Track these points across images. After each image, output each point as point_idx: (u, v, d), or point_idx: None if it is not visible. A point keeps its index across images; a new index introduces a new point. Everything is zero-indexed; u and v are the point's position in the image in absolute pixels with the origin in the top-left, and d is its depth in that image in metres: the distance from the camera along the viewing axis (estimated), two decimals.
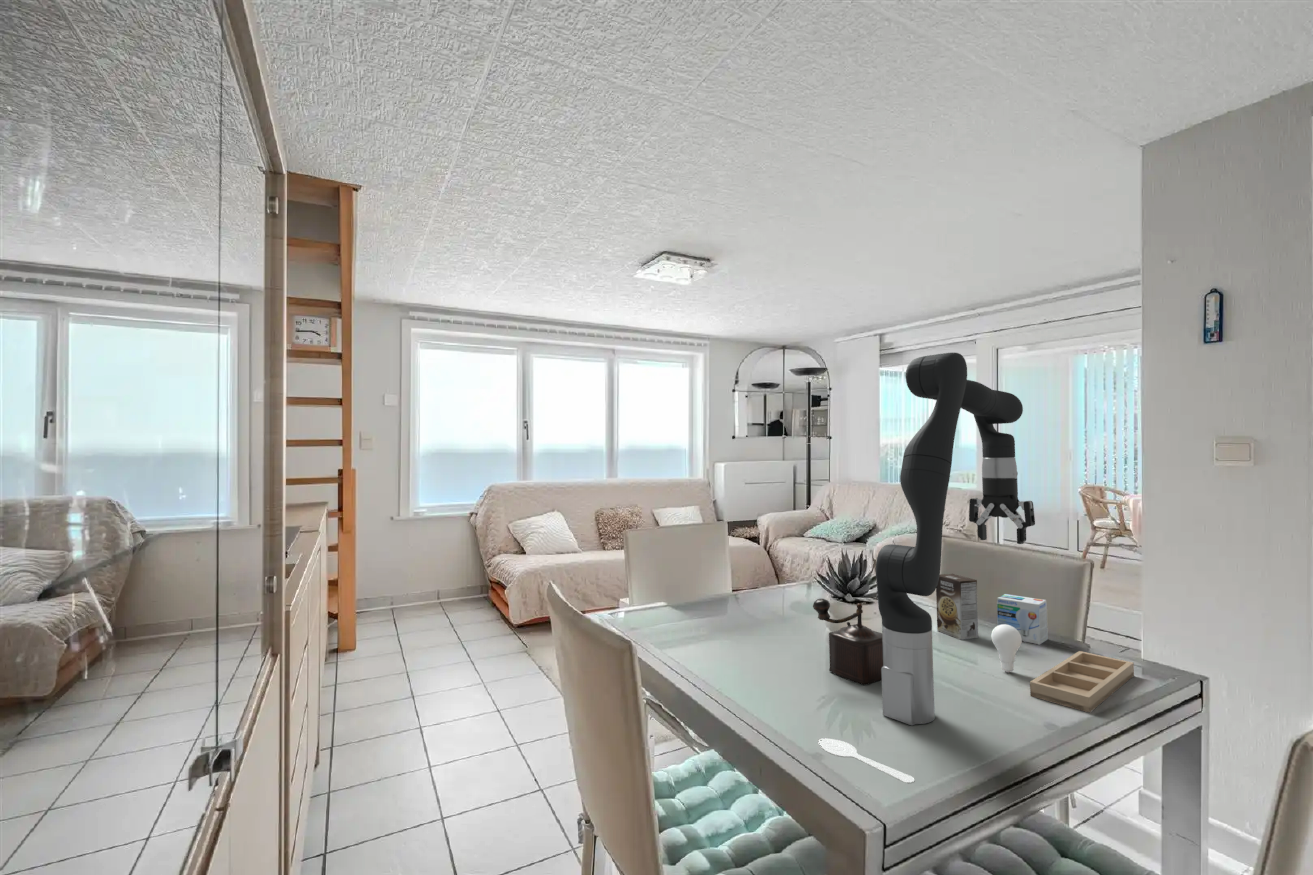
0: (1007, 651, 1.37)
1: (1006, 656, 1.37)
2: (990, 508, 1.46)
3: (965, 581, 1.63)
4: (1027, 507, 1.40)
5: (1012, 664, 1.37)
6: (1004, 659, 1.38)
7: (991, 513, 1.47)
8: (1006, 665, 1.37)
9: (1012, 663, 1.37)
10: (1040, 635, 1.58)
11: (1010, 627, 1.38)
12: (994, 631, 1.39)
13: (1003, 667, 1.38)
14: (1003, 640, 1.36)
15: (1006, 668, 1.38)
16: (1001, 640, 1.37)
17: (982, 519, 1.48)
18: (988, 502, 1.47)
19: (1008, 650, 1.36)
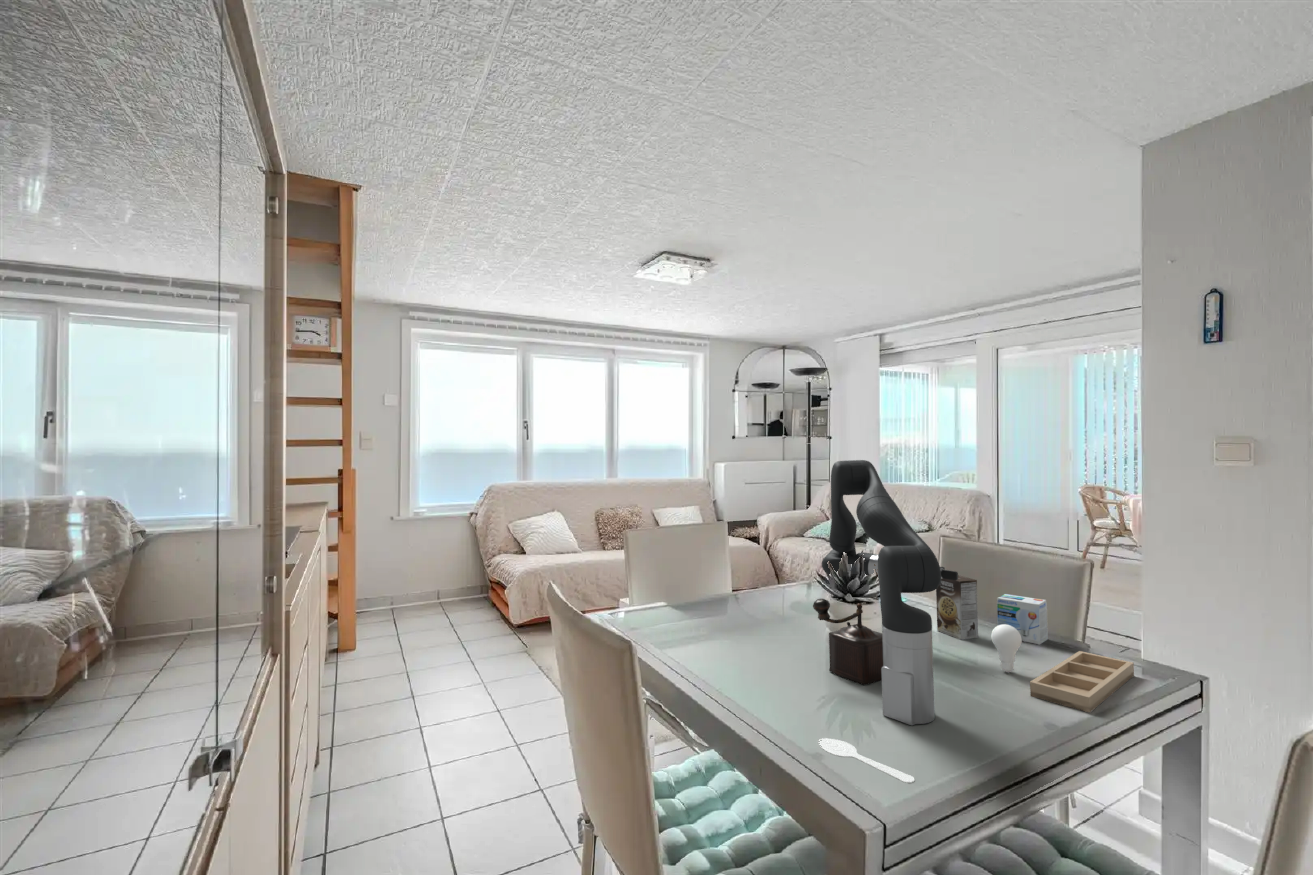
0: (1007, 651, 1.37)
1: (1006, 656, 1.37)
2: None
3: (965, 581, 1.63)
4: None
5: (1012, 664, 1.37)
6: (1004, 659, 1.38)
7: None
8: (1006, 665, 1.37)
9: (1012, 663, 1.37)
10: (1040, 635, 1.58)
11: (1010, 627, 1.38)
12: (994, 631, 1.39)
13: (1003, 667, 1.38)
14: (1003, 640, 1.36)
15: (1006, 668, 1.38)
16: (1001, 640, 1.37)
17: None
18: None
19: (1008, 650, 1.36)
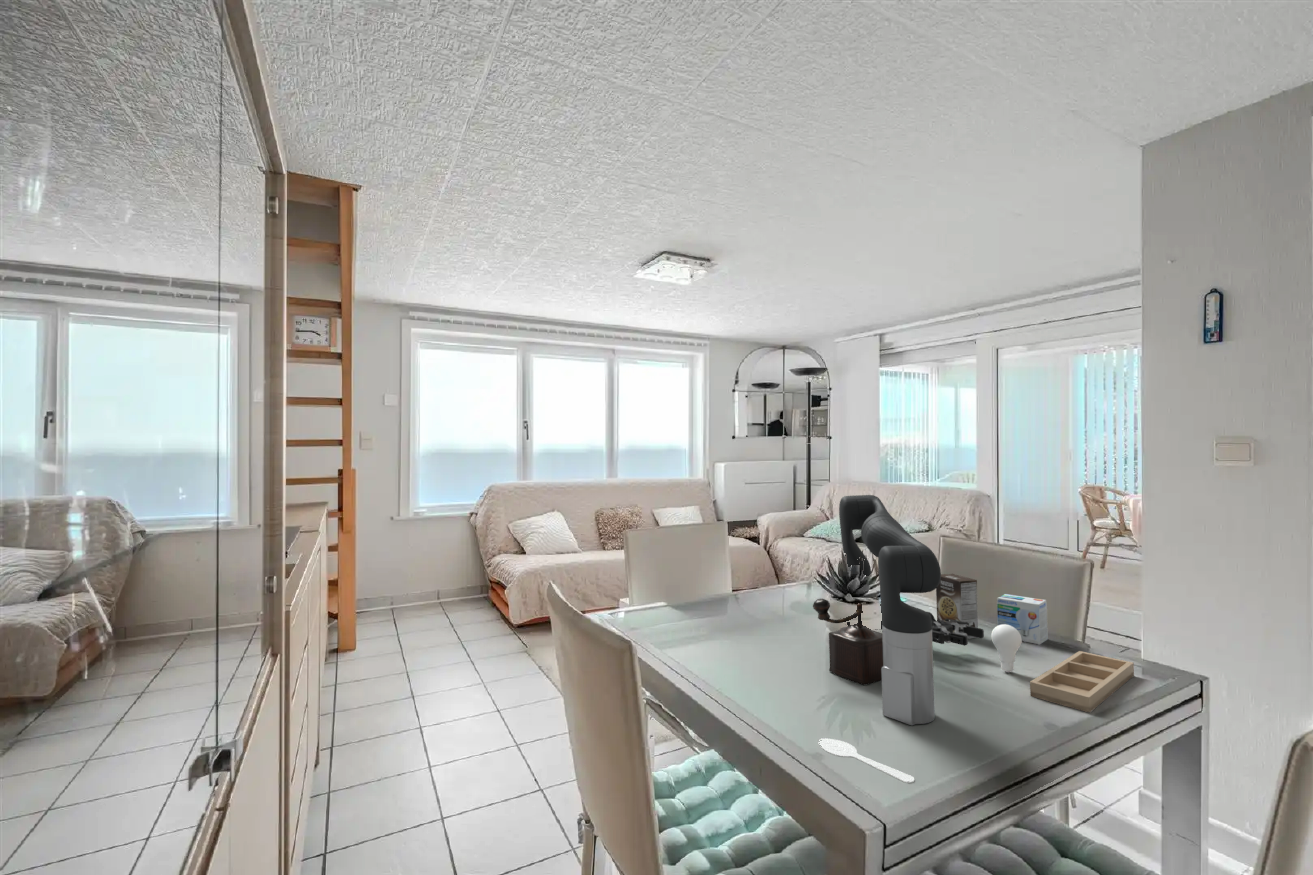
0: (1007, 651, 1.37)
1: (1006, 656, 1.37)
2: (938, 623, 1.50)
3: (965, 581, 1.63)
4: (951, 619, 1.55)
5: (1012, 664, 1.37)
6: (1004, 659, 1.38)
7: None
8: (1006, 665, 1.37)
9: (1012, 663, 1.37)
10: (1040, 635, 1.58)
11: (1010, 627, 1.38)
12: (994, 631, 1.39)
13: (1003, 667, 1.38)
14: (1003, 640, 1.36)
15: (1006, 668, 1.38)
16: (1001, 640, 1.37)
17: (945, 630, 1.46)
18: (931, 626, 1.50)
19: (1008, 650, 1.36)
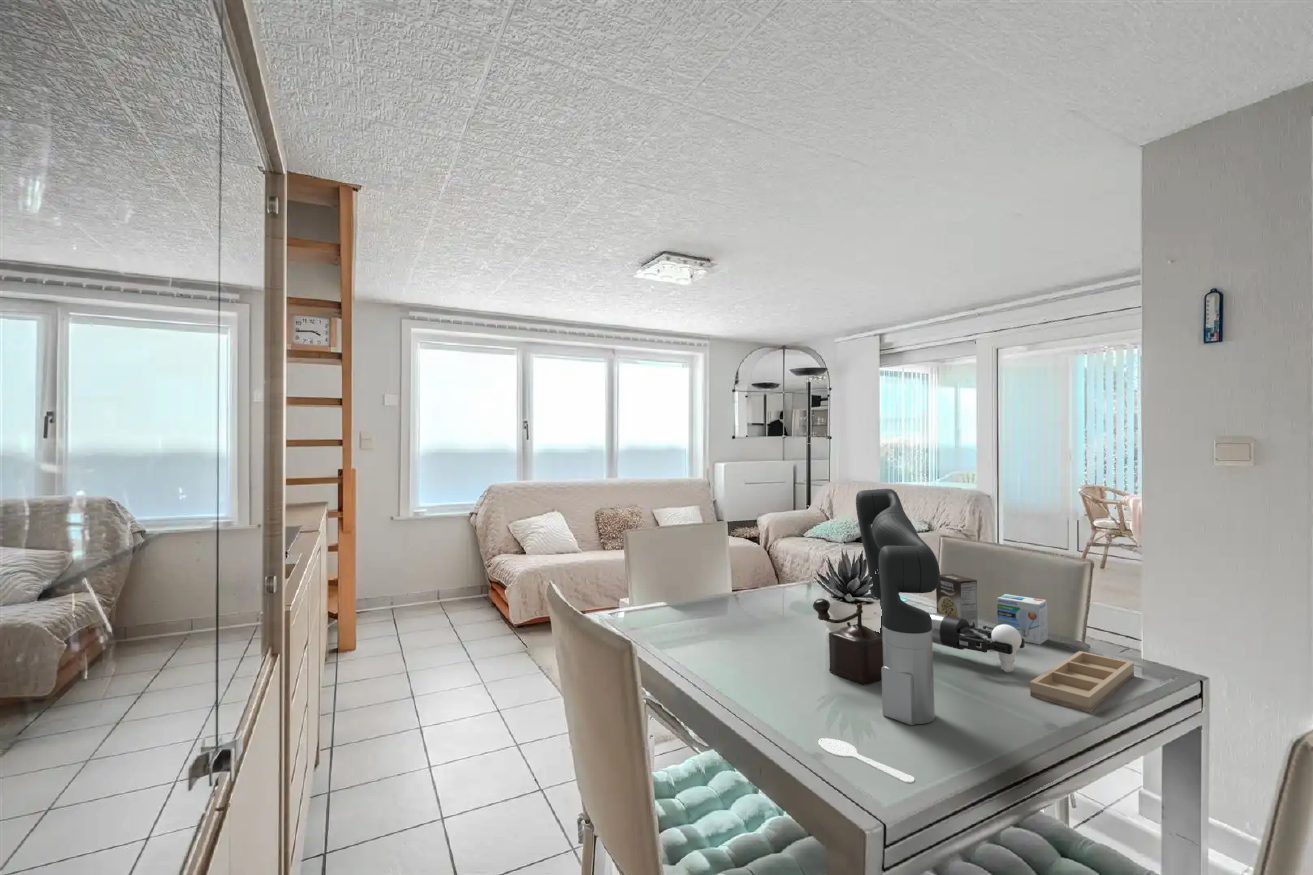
0: None
1: (1006, 656, 1.37)
2: (975, 630, 1.43)
3: (965, 581, 1.63)
4: (989, 627, 1.48)
5: (1012, 664, 1.37)
6: (1004, 659, 1.38)
7: None
8: (1006, 665, 1.37)
9: (1012, 663, 1.37)
10: (1040, 635, 1.58)
11: (1010, 627, 1.38)
12: (994, 631, 1.39)
13: (1003, 667, 1.38)
14: (1003, 640, 1.36)
15: (1006, 668, 1.38)
16: (1001, 640, 1.37)
17: (987, 638, 1.39)
18: (967, 633, 1.43)
19: None
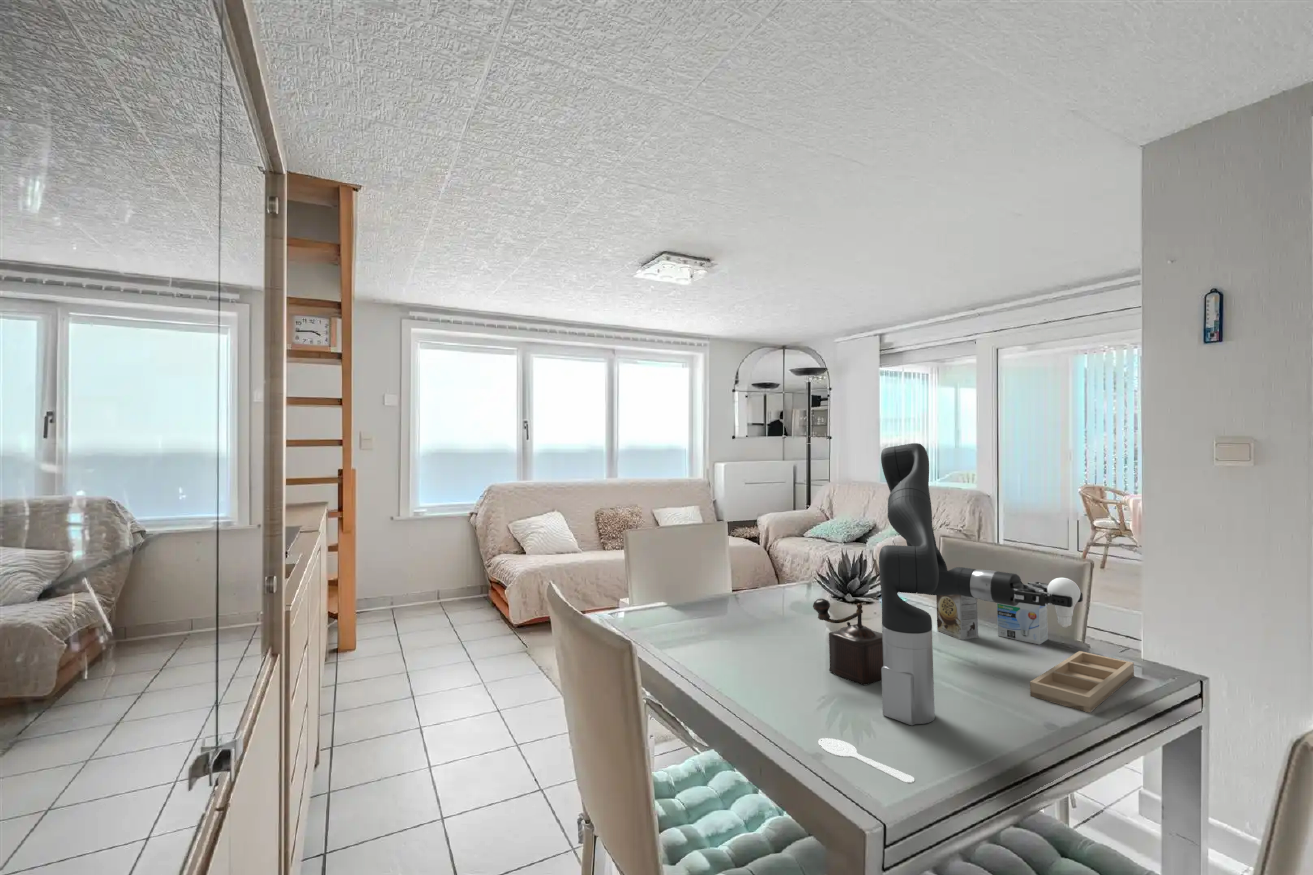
0: None
1: (1064, 610, 1.31)
2: (1029, 585, 1.37)
3: None
4: (1042, 583, 1.41)
5: (1070, 618, 1.31)
6: (1062, 613, 1.31)
7: None
8: (1064, 619, 1.31)
9: (1070, 617, 1.31)
10: (1040, 635, 1.58)
11: (1068, 580, 1.31)
12: (1051, 584, 1.33)
13: (1060, 622, 1.32)
14: (1061, 593, 1.30)
15: (1064, 622, 1.31)
16: (1060, 593, 1.30)
17: (1043, 591, 1.33)
18: (1020, 588, 1.37)
19: None
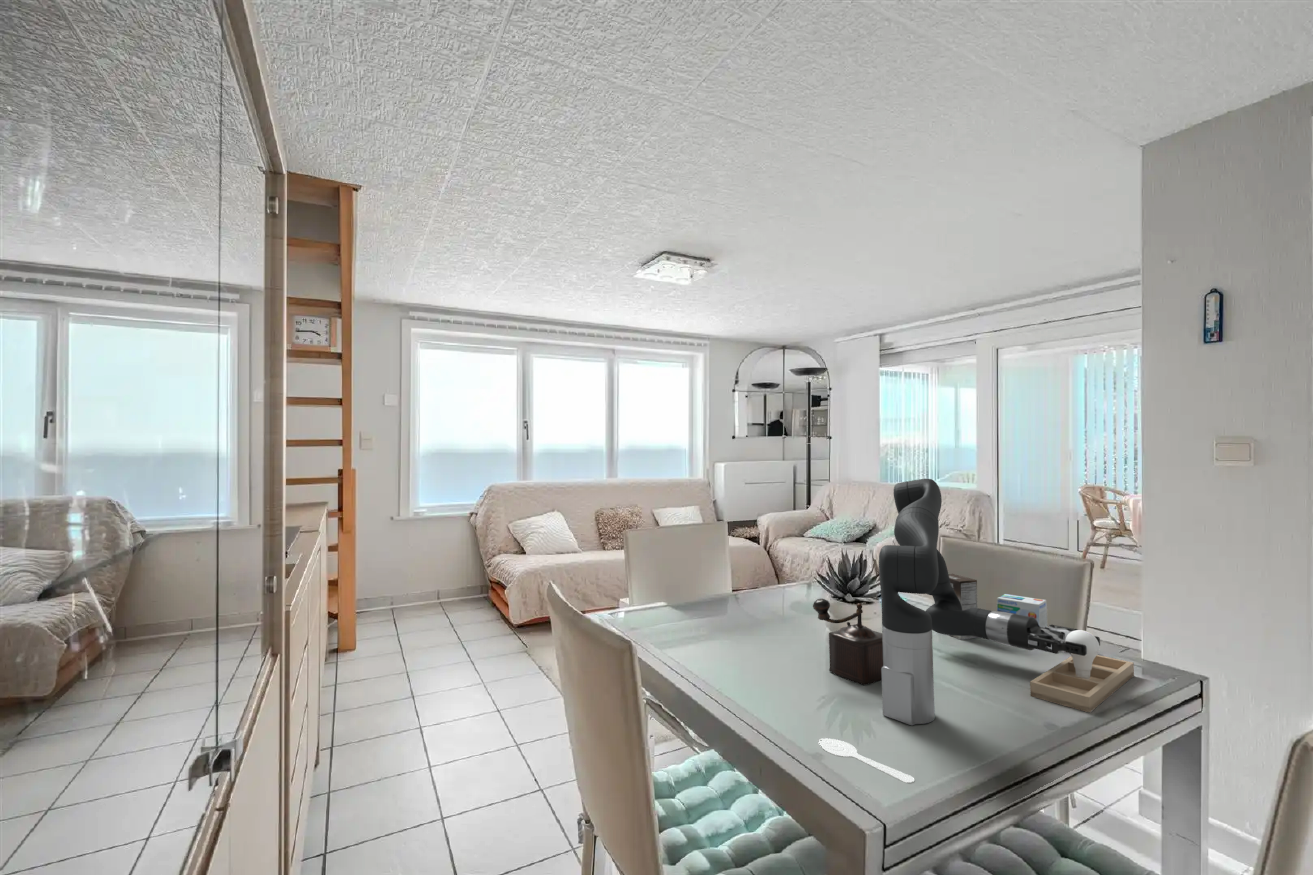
0: (1084, 659, 1.28)
1: (1082, 664, 1.29)
2: (1046, 630, 1.34)
3: (965, 581, 1.63)
4: None
5: (1089, 673, 1.29)
6: (1080, 667, 1.29)
7: None
8: (1083, 673, 1.29)
9: (1089, 671, 1.29)
10: None
11: (1087, 633, 1.29)
12: (1069, 637, 1.30)
13: (1079, 675, 1.30)
14: None
15: (1082, 677, 1.29)
16: None
17: (1058, 638, 1.30)
18: (1038, 633, 1.35)
19: (1085, 658, 1.28)
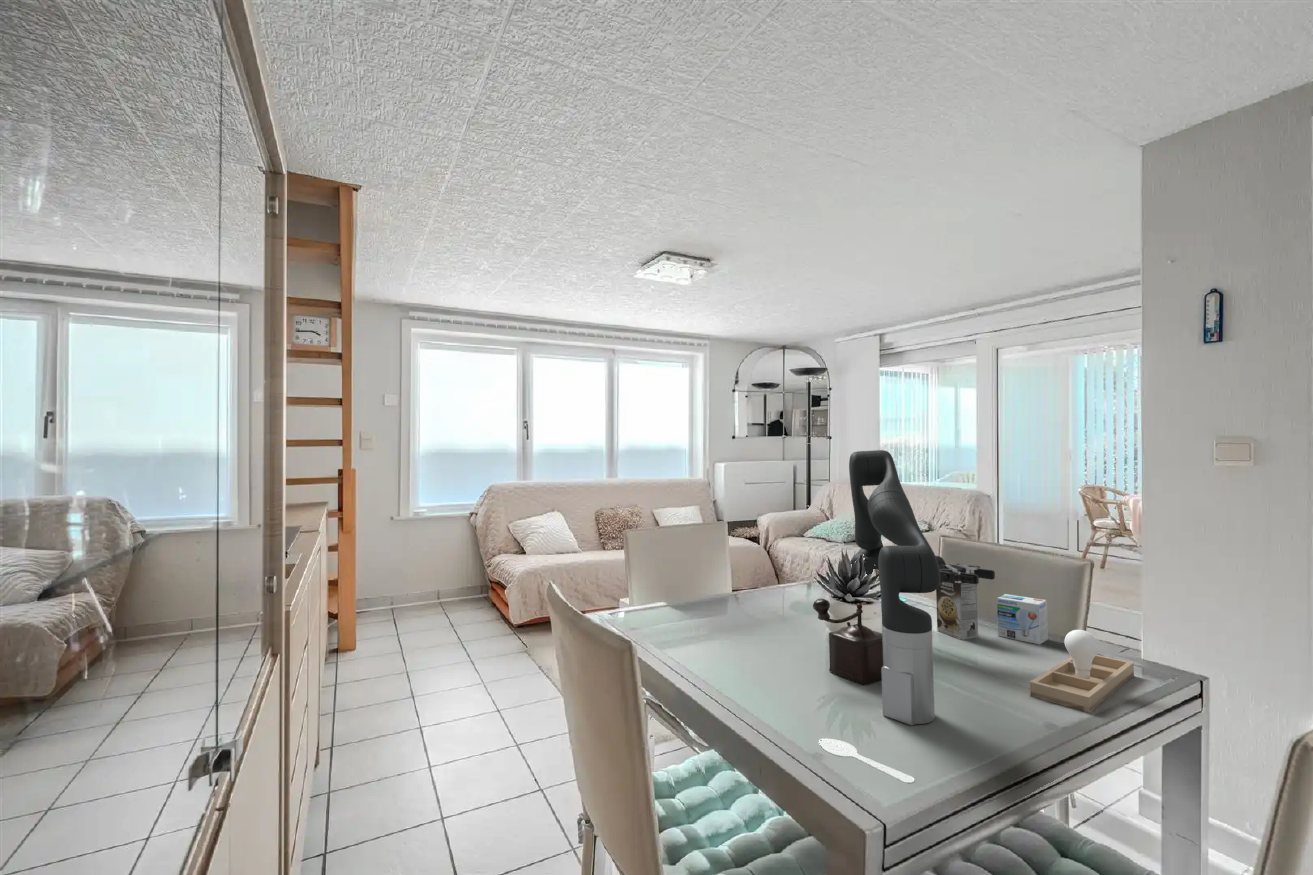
0: (1083, 658, 1.28)
1: (1082, 664, 1.29)
2: (949, 565, 1.50)
3: None
4: (961, 564, 1.55)
5: (1088, 672, 1.29)
6: (1080, 667, 1.29)
7: None
8: (1083, 673, 1.29)
9: (1089, 671, 1.29)
10: (1040, 635, 1.58)
11: (1086, 633, 1.29)
12: (1068, 637, 1.30)
13: (1079, 675, 1.30)
14: (1079, 647, 1.28)
15: (1082, 676, 1.29)
16: (1077, 646, 1.28)
17: (956, 571, 1.46)
18: (942, 568, 1.51)
19: (1085, 657, 1.28)
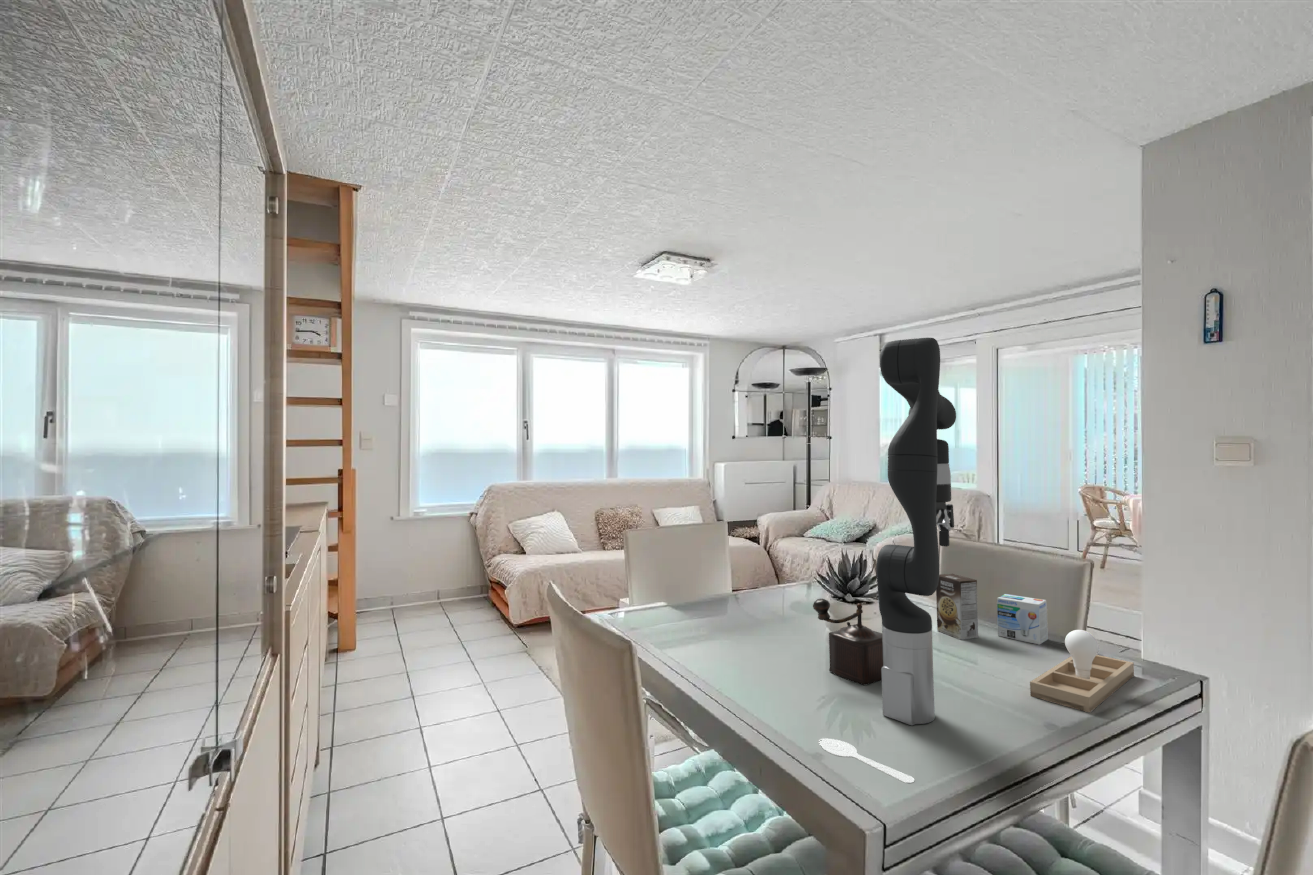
0: (1084, 658, 1.28)
1: (1082, 664, 1.29)
2: (939, 515, 1.44)
3: (965, 581, 1.63)
4: (952, 510, 1.49)
5: (1089, 672, 1.29)
6: (1080, 667, 1.29)
7: (936, 520, 1.44)
8: (1083, 673, 1.29)
9: (1089, 671, 1.29)
10: (1040, 635, 1.58)
11: (1086, 633, 1.29)
12: (1069, 637, 1.30)
13: (1079, 675, 1.30)
14: (1079, 647, 1.28)
15: (1082, 676, 1.29)
16: (1078, 646, 1.28)
17: None
18: None
19: (1085, 657, 1.28)
